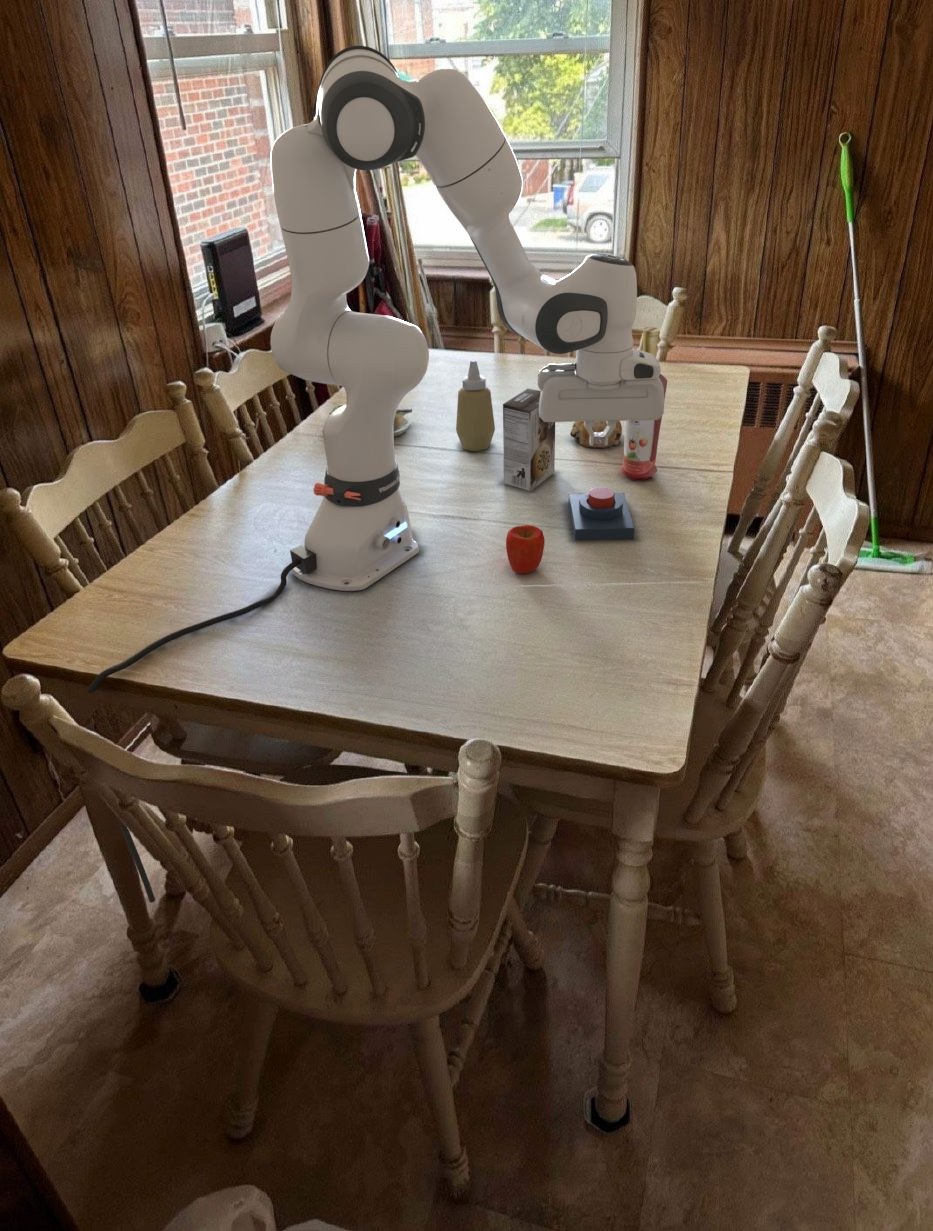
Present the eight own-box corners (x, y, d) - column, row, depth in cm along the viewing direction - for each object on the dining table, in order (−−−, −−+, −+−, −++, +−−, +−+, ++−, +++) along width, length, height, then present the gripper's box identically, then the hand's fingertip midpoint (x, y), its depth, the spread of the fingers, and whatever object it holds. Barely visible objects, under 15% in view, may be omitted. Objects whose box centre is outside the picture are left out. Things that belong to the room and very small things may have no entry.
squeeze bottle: (496, 438, 186) (495, 353, 176) (493, 454, 179) (492, 367, 169) (458, 437, 187) (455, 353, 176) (454, 453, 180) (450, 367, 170)
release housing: (633, 539, 150) (635, 518, 147) (574, 540, 150) (575, 520, 148) (623, 503, 160) (624, 483, 158) (568, 504, 161) (569, 485, 158)
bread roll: (605, 467, 181) (623, 436, 176) (561, 442, 181) (579, 410, 176) (615, 447, 188) (633, 417, 183) (573, 423, 189) (591, 392, 184)
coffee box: (527, 466, 174) (527, 387, 165) (555, 473, 171) (557, 393, 162) (502, 483, 168) (501, 403, 159) (530, 491, 165) (531, 410, 156)
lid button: (615, 509, 151) (616, 498, 150) (589, 509, 151) (590, 499, 150) (612, 497, 155) (612, 486, 154) (587, 497, 155) (587, 487, 154)
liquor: (664, 474, 169) (680, 327, 153) (644, 487, 165) (657, 338, 149) (632, 463, 174) (644, 320, 157) (611, 476, 169) (621, 330, 153)
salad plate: (398, 405, 203) (397, 386, 200) (430, 432, 190) (429, 411, 187) (318, 422, 196) (315, 402, 193) (346, 451, 183) (343, 430, 180)
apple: (528, 584, 139) (528, 543, 135) (497, 572, 142) (497, 531, 138) (551, 568, 143) (552, 527, 139) (521, 556, 146) (521, 516, 142)
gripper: (539, 370, 137) (537, 453, 145) (670, 367, 137) (661, 450, 145) (536, 357, 143) (535, 438, 150) (663, 355, 142) (655, 435, 150)
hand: (598, 444), depth 148 cm, fingers closed
